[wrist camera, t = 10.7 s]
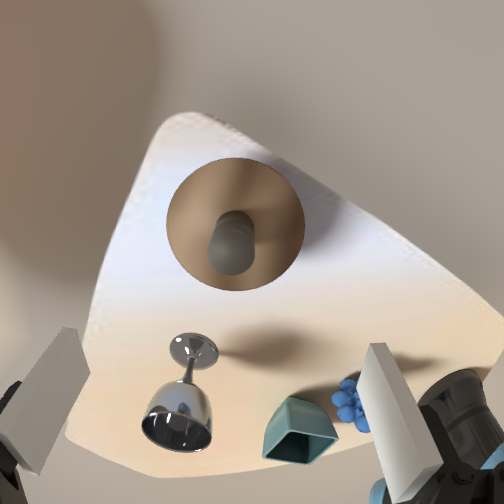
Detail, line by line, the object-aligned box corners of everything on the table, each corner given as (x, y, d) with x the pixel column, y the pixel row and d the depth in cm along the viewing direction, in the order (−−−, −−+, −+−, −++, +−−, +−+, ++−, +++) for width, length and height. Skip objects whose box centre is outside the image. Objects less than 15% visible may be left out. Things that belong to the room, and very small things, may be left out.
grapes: (398, 349, 45) (427, 403, 34) (393, 378, 47) (417, 431, 36) (326, 363, 45) (343, 424, 34) (327, 392, 48) (340, 451, 37)
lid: (310, 163, 29) (327, 175, 22) (294, 289, 34) (303, 328, 27) (169, 155, 28) (146, 164, 22) (170, 280, 33) (153, 318, 27)
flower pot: (330, 397, 48) (340, 438, 40) (303, 426, 51) (309, 466, 43) (284, 384, 47) (289, 429, 39) (259, 416, 50) (260, 458, 42)
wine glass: (156, 340, 44) (127, 418, 30) (204, 323, 42) (186, 407, 29) (184, 377, 46) (167, 455, 33) (230, 363, 45) (224, 446, 31)
